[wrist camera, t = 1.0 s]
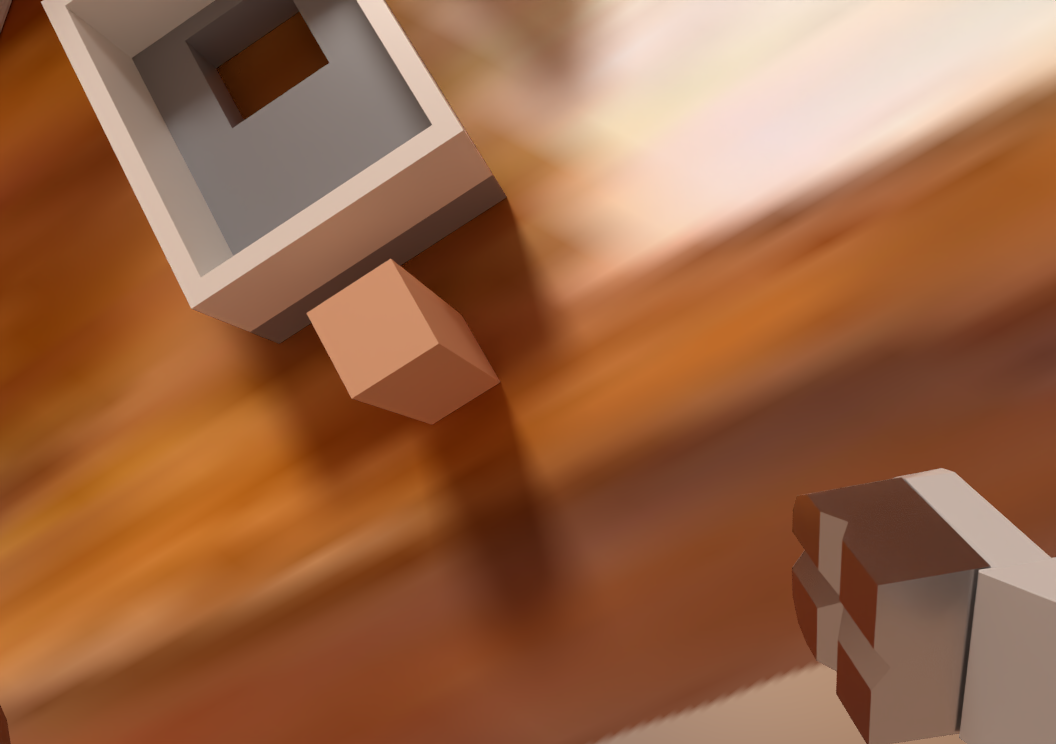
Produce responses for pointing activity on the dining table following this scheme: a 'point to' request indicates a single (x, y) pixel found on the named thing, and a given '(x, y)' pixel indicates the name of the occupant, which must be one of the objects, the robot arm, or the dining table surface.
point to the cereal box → (4, 11)
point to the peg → (402, 346)
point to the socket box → (275, 149)
